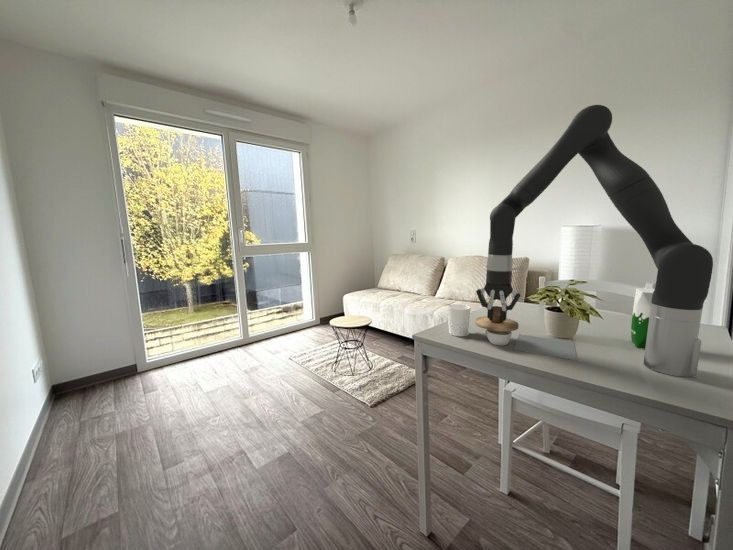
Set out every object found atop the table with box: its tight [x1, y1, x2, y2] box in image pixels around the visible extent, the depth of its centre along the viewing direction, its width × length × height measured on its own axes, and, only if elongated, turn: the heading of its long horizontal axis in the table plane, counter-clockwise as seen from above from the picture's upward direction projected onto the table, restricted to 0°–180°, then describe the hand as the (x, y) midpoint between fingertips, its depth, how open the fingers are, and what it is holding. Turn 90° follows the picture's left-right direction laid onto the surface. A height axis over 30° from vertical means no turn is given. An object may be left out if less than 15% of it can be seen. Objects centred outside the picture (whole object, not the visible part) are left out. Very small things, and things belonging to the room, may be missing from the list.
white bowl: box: [484, 329, 513, 346], centre depth 98 cm, size 10×10×5 cm
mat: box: [513, 333, 578, 362], centre depth 95 cm, size 16×16×1 cm
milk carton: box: [630, 287, 655, 349], centre depth 93 cm, size 9×9×20 cm
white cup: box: [447, 303, 472, 337], centre depth 108 cm, size 8×8×10 cm
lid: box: [475, 305, 520, 332], centre depth 98 cm, size 13×13×6 cm
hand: (496, 320), depth 98 cm, fingers closed on lid, 3 cm apart
